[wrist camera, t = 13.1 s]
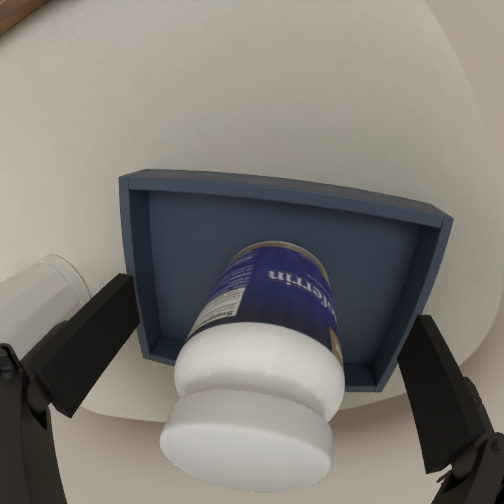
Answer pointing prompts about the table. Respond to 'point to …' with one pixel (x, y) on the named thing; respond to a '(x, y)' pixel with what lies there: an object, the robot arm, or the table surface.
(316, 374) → the pill bottle
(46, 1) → the wooden frame
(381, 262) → the tray
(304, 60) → the table surface
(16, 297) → the cup
